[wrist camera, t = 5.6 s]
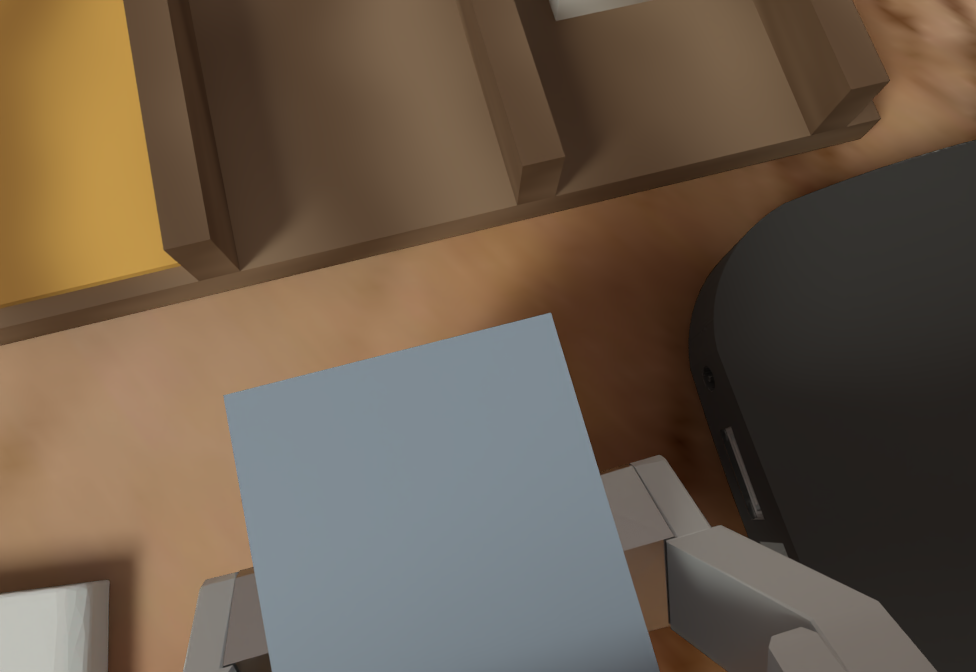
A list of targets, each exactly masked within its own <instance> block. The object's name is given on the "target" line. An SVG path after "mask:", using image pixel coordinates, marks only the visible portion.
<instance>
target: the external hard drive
mask: <svg viewBox="0 0 976 672" xmlns="http://www.w3.org/2000/svg"><path fill="white" fill-rule="evenodd" d="M109 587H110V581H109V580H100V581H92V582H84V583H77V584H69V585H61V586H53V587H45V588H37V589H30V590H22V591H13V592H5V593H0V672H108V638H109Z"/></svg>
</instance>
